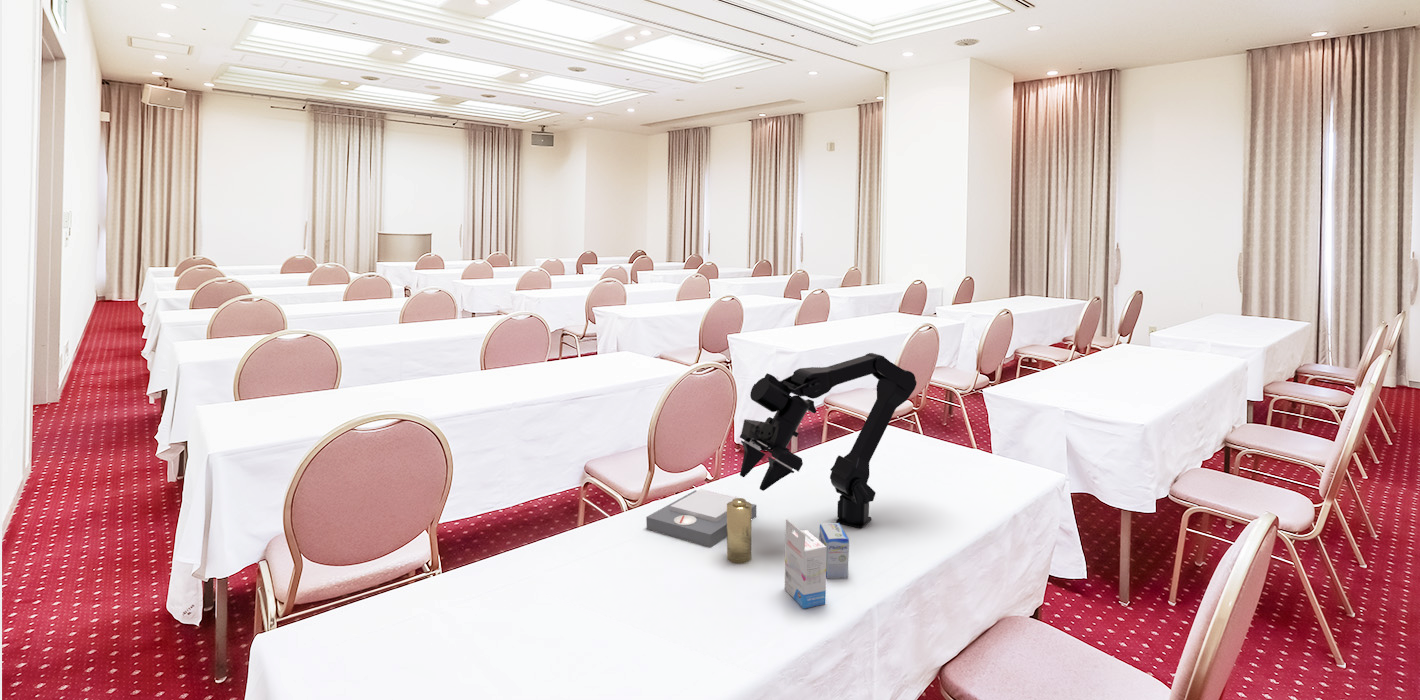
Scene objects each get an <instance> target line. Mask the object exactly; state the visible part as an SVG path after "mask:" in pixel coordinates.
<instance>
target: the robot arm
mask: <svg viewBox="0 0 1420 700" xmlns="http://www.w3.org/2000/svg"><path fill="white" fill-rule="evenodd" d="M869 375H872V376H873V377H874V378H875V379H877V380H878V381H877V384H876V399H875V402H874V404H873V406H872V407H871V410H870V412H869V414H868V416H867V418H866V420H865V422H864V423H863V426H862V428H861V430H860V432H859V434H858V436H857V438H856V440H855V442H854V444H853V445H852V448H851V449H850V451H849V452H848V453H847V454H846V455H844V456H842V455H837V457H836V459H835V462H834V464H833V466H832V467H831V468H830V471H831V472H830V476H829V479H830V482H831V485H832V486H833V487H834V490H835V492H836V493H838V494H839V500H837V511H836V512H837V513H836V514H837V519H836V520H835V521H836V522H835V523H839V524H840V525H845V526H848V527H849V526H850V527H854V528H859V529H862V528H864V526H866V525H867V524H868V523H869V522H871V520H872V517H871V516H870V515H869V514H870V502H873V501H874V499H875V497H876V493H877V492H876V491H875V490H874V489H873V488H872V487H871V486H869V484H868V482H869V478H870V462H871V460H872V458H873V455H874V454H875V451H876V449H877V447H878V445H879V444H880V441H881V439H882V437H883V435H884V433H885V431H886V429H887V427H888V426H889V424H890V422H891V419H892V418H893V415H894V413H895V411H896V410H897V408H898V407H900V406H901V405H902V404H904V403H905V402H906V401H908V399H909V398H910V397H911V395H912V394H913V393H914V391H915V389H916V387H917V380H916V376H915V374H914V373H913V372H912V371H909V370H905V369H903V368H901V367H899V366H898V365H897V364H894V363H893V362H891V361H890V360H889V359H888V358H886V357H885V356H883V355H881V354H878V353H873V352H868V353H866V354H864V355H862V356H860V357H856V358H852V359H849V360H845V361H843V362H839V363H835V364H832V365H829V366H825V367H820V366H817V367H816V366H815V367H814V366H813V367H812V366H811V367H802V368H801V367H800V368H798V369H796V370H794V371H793V374H792V375H790V376H787V377H786V378H783V379H782V380H779V379H777V378H776V377H775V376H774V375H772V374H771V373H766V374H765V375H764V377H762V378H760V379H758V381H757V382H756V383H754V384H753V385H752V388H751V389H750V390H751V391H750V394H749V395H750V397H749V398H750V399H751V401H753V402H755V403H756V404H758V405H759V406H761V407H763V408H765V409H766V410H767V411H768V412H771V413H775V414H774V416H773V418H772V417H770V416H769V417H767V418H766V420H765V421H760V420H753V419H744V420H743V425H742V429H741V434H740V435H739V438H740V439H742V440H740V443H741V444H742V447H743V450H744V452H743V453H744V454H743V458H742V463H741V468H740V473H739V476H740V477H742V478H745V477H746V476H747V475H748V474H749V473H750V472H751V471H752V470H753V469H754V468H755V467H756V465H758V463H760V461H761V460H762V459H763V458H764V456H766V453H764V452H766V451H767V452H768V453H770V454H771V456H767V458H768V467H767V470H766V472H765V475H764V476H763V478H762V480H761V482H760V486H759V490H760V491H762V492H764V491H765V490H767V489H768V488H770V487H771V486H773V485H774V484H775V483H777V482H779V481H780V480H781V479H783V478H785V477H786V476H788V475H790V474H794V473H795V471H797V472H800V471H801V468H802V466H803V464H804V463H803V458H801V457H800V456H798V455H797V454H795V453H793V452H791V451H790V449H789V448H788V445H789V444H790V442H791V440H792V439H793V437H795V438H798V435H799V432H797V430H798V427H799V426H800V424H801V423H802V420H803V419H804V417H805V415H806V413H807V411H808V412H810V413H812V414H817V409H816V407H815V402H814V400H812V399H817V398H819V397H822V396H823V395H826V394H827V393H829V392H830V391H831V389H832V388H834V387H835V386H838V385H841V384H844V383H847V382H850V381H854V380H856V379H861V378H863V377H866V376H869ZM791 394H793V396H792V395H791ZM802 397H806V398H807V399H804V398H802Z"/></svg>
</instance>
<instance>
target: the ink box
mask: <svg viewBox="0 0 1420 700" xmlns="http://www.w3.org/2000/svg"><path fill="white" fill-rule="evenodd" d="M784 535H785V538H784V541H785V542H784V543H785V545H784V546H785V548H784V552H785V553H784V590H785V591H787V593H788V594H789V595H790V596H791V598H793V599H794V601H795V602H796V603H797V604H798V605H799V606H800V607H801V608H802V609H808V608H812V607H817V606H823V605H826V593H827V592H826V591H827V590H826V588H827V577H826V554H827V547H826V546H825V545H824V544H823V543H821V542H820V541H819V538H817V537H816V536H815V535H813V533H811V532H810V531H809V530H808V529H804V530H801V529H800V528H798V527H797V526H796V525H795V524H793V523H792V521H790V520H789V519H788V518H786V519H785V534H784Z"/></svg>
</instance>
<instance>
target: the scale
mask: <svg viewBox="0 0 1420 700" xmlns="http://www.w3.org/2000/svg"><path fill="white" fill-rule="evenodd" d="M735 498H738V497H737V496H732V495H729V494H724V493H719V492H717V491H716V492H715V491H711V490H707V489H702V488H700V489H699V490H696V489H695V490H693V491H691V492H690V493H687V494H686V495H684V496H683V497H681V498H678V499H677V500H674V501H673V502H671V503H669V504H667V505H665V506H664V507H662V508H661V509H658V510H657V511H655V512H653V513H650V514H649V515H648V516H646V517H645V518H646V521H645V522H646V530H648V531H652V532H656V533H659V534H663V535H666V536H670V537H673V538H676V539H680V540H683V539H684V540H683V541H687V540H688V542H690V541H691V542H690V543H694V542H695V543H694V544H697V543H698V545H702V546H704V545H705V547H708V548H712V547H713V546H715V545H717V544H718V543H719V542H721V541H723V540H724V539H726V538H727V504H728V503H729V502H731V501H732V500H733V499H735ZM754 517H755V518H756V517H757V504H755V503H751V519H752V520H754V519H755V518H754ZM753 518H754V519H753Z"/></svg>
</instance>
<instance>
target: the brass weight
mask: <svg viewBox="0 0 1420 700" xmlns="http://www.w3.org/2000/svg"><path fill="white" fill-rule="evenodd" d="M751 504H752V503H751V502H750V501H746V499H745V498H742V497H737V498H735V499H733V500H732V501H731V502H729V503H728V504H727V537H726V558H727V560H728V562H730V563H733V564H737V565H740V564H741V565H742V564H747V563H749V562H751V561H752V520H751Z"/></svg>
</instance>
